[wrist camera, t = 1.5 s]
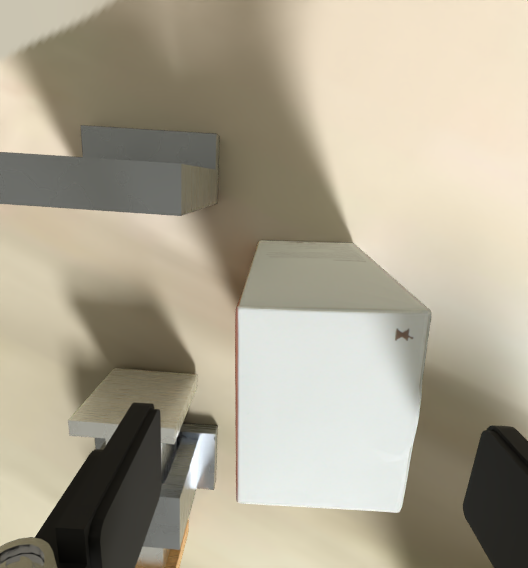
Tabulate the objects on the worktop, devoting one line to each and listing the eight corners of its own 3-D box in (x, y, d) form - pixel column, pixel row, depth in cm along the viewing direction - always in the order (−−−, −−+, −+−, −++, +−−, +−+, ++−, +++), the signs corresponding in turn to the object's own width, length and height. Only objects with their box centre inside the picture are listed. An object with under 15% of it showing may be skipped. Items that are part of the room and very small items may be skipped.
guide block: (217, 425, 28) (200, 493, 22) (215, 479, 29) (199, 557, 23) (100, 416, 28) (51, 481, 22) (103, 470, 29) (58, 545, 23)
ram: (197, 374, 26) (174, 428, 20) (195, 529, 30) (175, 612, 24) (114, 367, 26) (67, 420, 21) (122, 523, 30) (85, 604, 24)
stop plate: (219, 135, 22) (181, 107, 14) (217, 203, 23) (181, 215, 15) (89, 127, 23) (-29, 94, 14) (93, 194, 24) (-14, 202, 15)
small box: (257, 238, 24) (233, 301, 12) (355, 241, 24) (440, 308, 11) (255, 352, 26) (234, 509, 14) (345, 355, 26) (407, 517, 13)
